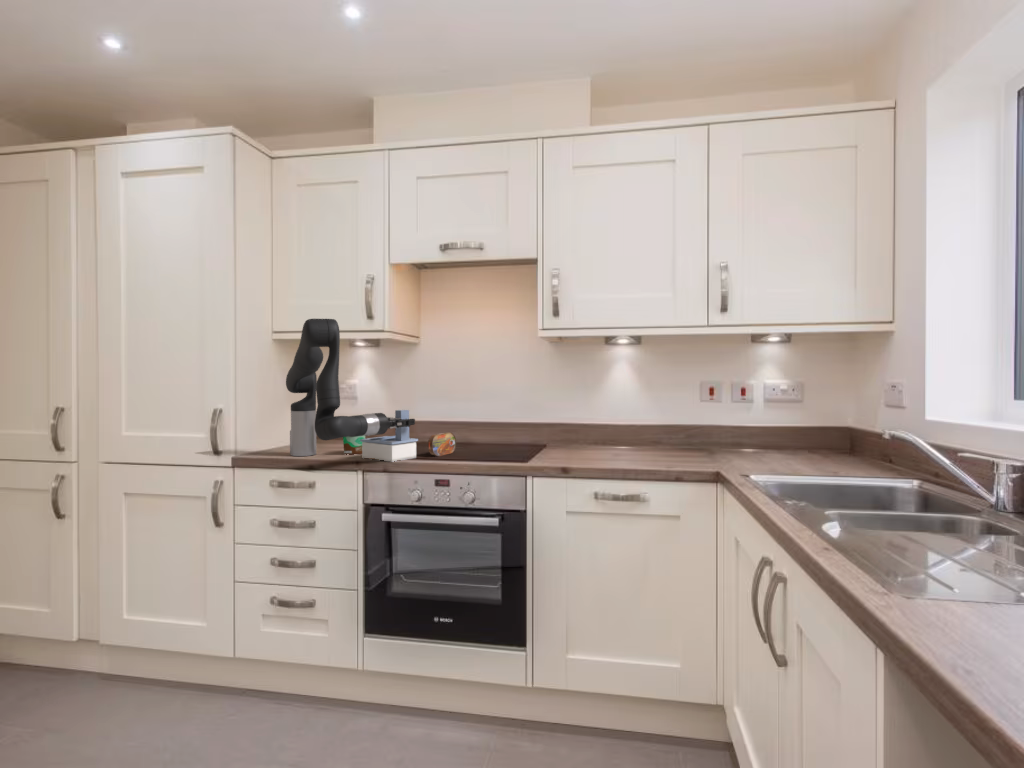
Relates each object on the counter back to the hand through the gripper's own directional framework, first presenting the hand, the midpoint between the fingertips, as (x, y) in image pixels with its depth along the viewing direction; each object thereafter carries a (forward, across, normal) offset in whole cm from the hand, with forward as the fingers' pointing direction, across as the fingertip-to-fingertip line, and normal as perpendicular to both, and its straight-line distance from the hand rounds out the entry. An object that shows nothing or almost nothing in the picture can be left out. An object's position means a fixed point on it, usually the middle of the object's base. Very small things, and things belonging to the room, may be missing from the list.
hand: (406, 421), depth 204 cm
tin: (+16, -3, +14) cm, 22 cm away
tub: (-2, +7, +14) cm, 16 cm away
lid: (-2, +7, +8) cm, 11 cm away
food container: (-1, +26, +14) cm, 30 cm away
